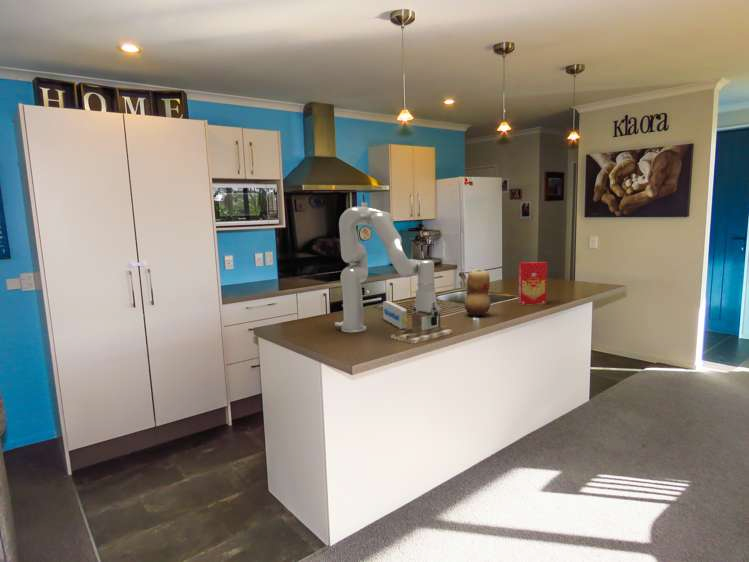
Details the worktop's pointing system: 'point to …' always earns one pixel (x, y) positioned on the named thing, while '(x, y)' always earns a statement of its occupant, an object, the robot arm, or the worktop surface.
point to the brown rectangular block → (423, 322)
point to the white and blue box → (395, 314)
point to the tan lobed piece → (477, 292)
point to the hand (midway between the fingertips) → (426, 323)
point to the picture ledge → (421, 334)
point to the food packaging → (532, 282)
